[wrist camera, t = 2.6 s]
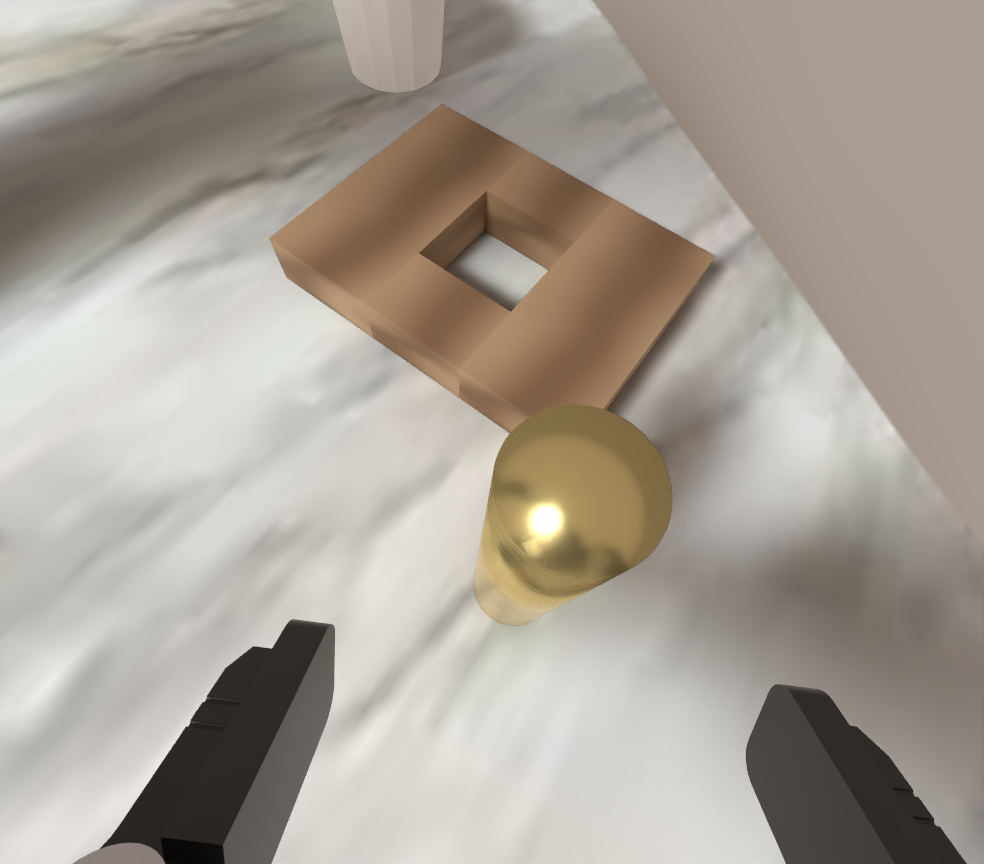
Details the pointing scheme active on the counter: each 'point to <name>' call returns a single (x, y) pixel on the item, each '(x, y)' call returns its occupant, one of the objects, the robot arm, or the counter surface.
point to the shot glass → (392, 41)
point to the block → (465, 311)
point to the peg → (567, 510)
